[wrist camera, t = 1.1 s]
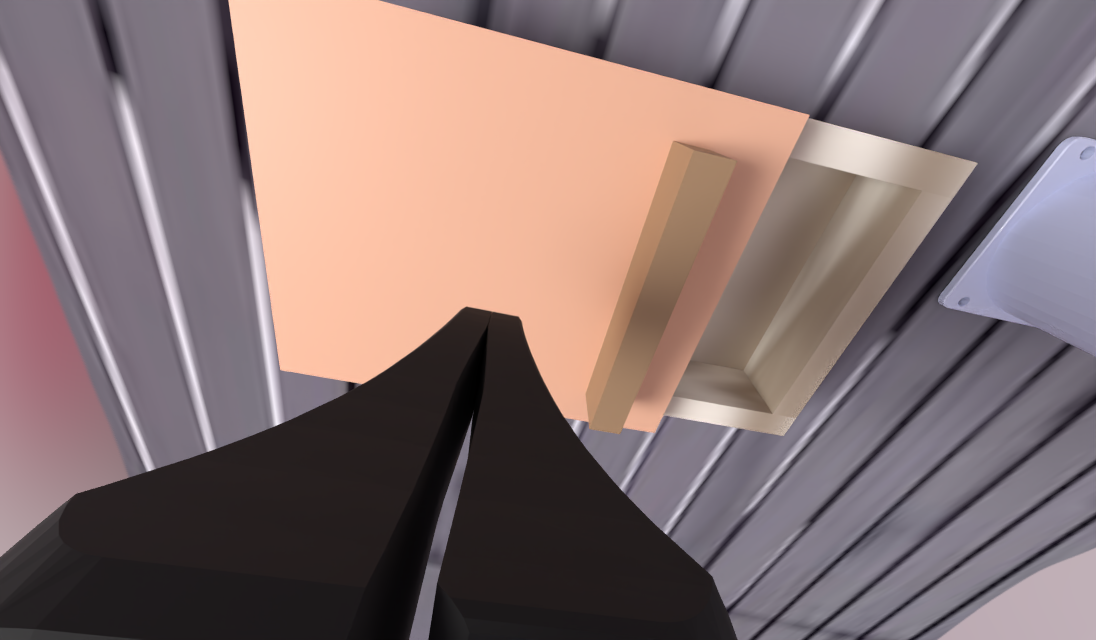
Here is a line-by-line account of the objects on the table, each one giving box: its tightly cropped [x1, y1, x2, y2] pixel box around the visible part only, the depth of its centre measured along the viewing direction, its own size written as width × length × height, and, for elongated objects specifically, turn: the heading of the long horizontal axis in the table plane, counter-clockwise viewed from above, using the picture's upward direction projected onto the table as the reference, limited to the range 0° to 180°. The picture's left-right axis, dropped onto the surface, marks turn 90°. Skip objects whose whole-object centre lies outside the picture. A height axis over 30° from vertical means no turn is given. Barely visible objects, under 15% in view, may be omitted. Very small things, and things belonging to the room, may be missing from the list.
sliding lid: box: [229, 0, 809, 434], centre depth 14 cm, size 16×13×3 cm
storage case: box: [664, 118, 978, 436], centre depth 18 cm, size 16×13×4 cm
